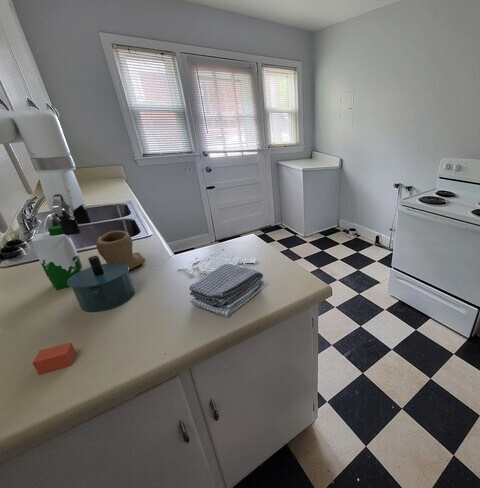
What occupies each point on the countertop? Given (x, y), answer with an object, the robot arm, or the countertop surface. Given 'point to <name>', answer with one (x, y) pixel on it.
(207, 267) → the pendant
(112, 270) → the lid
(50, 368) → the red block
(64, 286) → the milk carton
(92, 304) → the pot
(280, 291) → the countertop surface
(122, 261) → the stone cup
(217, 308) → the towel
